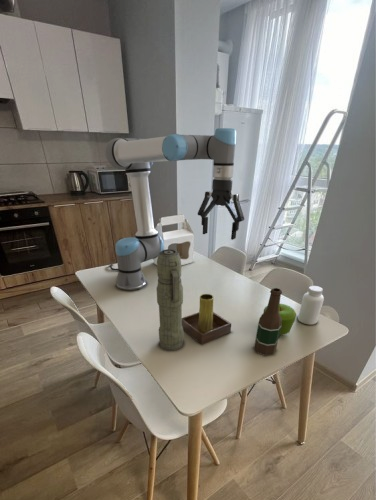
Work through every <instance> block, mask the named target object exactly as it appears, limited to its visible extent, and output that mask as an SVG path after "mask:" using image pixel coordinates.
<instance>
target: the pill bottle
mask: <svg viewBox="0 0 376 500" xmlns="http://www.w3.org/2000/svg"><path fill="white" fill-rule="evenodd" d="M323 292H324V291H323V288H322V287H320V286H318V285H310V286H309V287H308V289H307V291H306V292H305V293H304V294H303V296H302V300H301V304H300V308H299V311H298V315H297V320H298V321H299V322H300V323H302V324H305V325H311V326H312V325H315V324H317V322H318V321H319V317H320V314H321V312H322V311H321V310H322V307H323V304H324V302H325V297H324V295H323Z"/></svg>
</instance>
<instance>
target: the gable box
mask: <svg viewBox="0 0 376 500" xmlns="http://www.w3.org/2000/svg"><path fill="white" fill-rule="evenodd" d="M158 220H159V222H158V223H156V225H155V227H154V229H155V230H156V231H157V232H158V235H159V236H160V237H161V239H162V240H163V243H164V249H163V250H167V249H169V246H170V245H173V244H176V251H177V252H178V253H179V256H180V259H181V266H184V265H187V264H193V263H194V250H195V247H194V244H195V233H194V232H193V230H192V227H191V226H190V224H189V219H188V218H186V217H185V214H184V213H183V214H174V215H167V216H162V217H160V218H159V219H158ZM175 224H181V229H175V230H169V231H163V227H164V226H169V225H175ZM157 259H158V257H156V258H155V259H152V263H153V264H154V265H156V266H157Z"/></svg>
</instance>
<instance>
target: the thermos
mask: <svg viewBox="0 0 376 500" xmlns="http://www.w3.org/2000/svg"><path fill="white" fill-rule="evenodd" d="M156 269H157V271H156V273H157V278H158V279H157V285H156V303H157V305H158V311H159V312H158V313H159V314H158V317H159V327H158V340H159V345H160V346H159V347H161V348H162V349H163V350H165V351H177V350H179V349H181V348H182V347H183V344H184V341H183V340H184V330H183V327H182V318H183V317H182V316H183V313H182V311H183V310H182V309H183V308H182V307H183V306H182V305H183V303H184V287H183V283H182V278H181V277H182V265H181V259H180V256H179V253H178V252H177V250H175V249H169V248H168V249H167V250H163V251H161V252H159V255H158V259H157V265H156Z"/></svg>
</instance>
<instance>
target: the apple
mask: <svg viewBox="0 0 376 500" xmlns="http://www.w3.org/2000/svg"><path fill="white" fill-rule="evenodd" d="M267 306H268V304H267V305H266V306H265V307H264V308H263V313H264V312H265V311H266V309H267ZM263 313H262V314H263ZM279 313H280V315H281V318H282V325H281V329H280V334H279V336H282V335H287V334H289V333H290V332H291V329H292V327H293V325H294V323H295V322H296V321H295V320H296V319H297V313H296V310H295V309H294V308H293V307H291V306H290V305H288V304H285V303H280V304H279Z"/></svg>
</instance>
